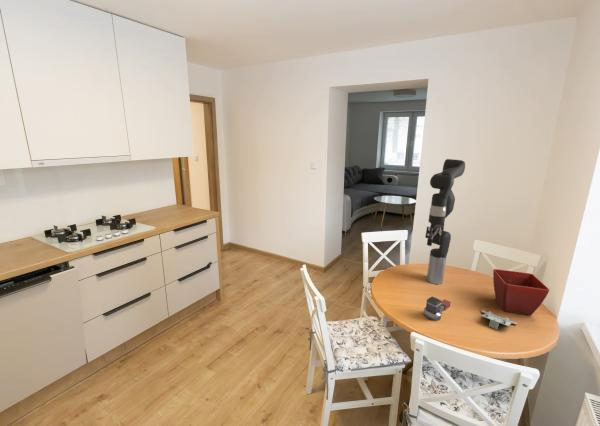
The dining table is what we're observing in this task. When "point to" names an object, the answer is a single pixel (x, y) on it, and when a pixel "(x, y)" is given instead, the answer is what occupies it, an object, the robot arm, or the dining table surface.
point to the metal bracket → (496, 320)
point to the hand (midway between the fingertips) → (433, 243)
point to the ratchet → (444, 306)
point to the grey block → (433, 305)
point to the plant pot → (518, 291)
